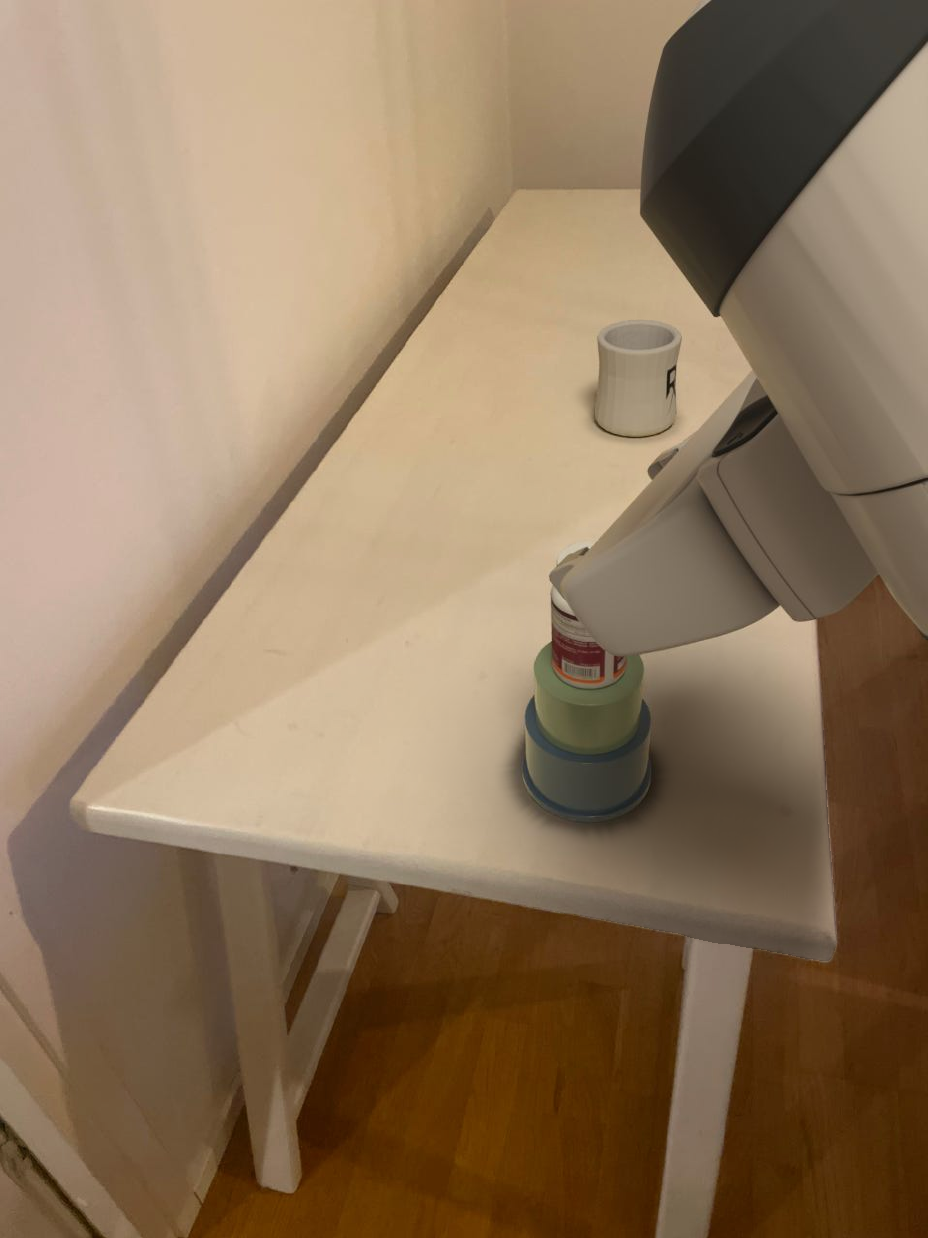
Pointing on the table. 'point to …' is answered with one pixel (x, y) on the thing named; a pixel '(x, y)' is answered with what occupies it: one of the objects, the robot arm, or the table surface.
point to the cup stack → (587, 744)
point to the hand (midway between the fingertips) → (614, 525)
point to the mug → (637, 377)
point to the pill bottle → (579, 644)
